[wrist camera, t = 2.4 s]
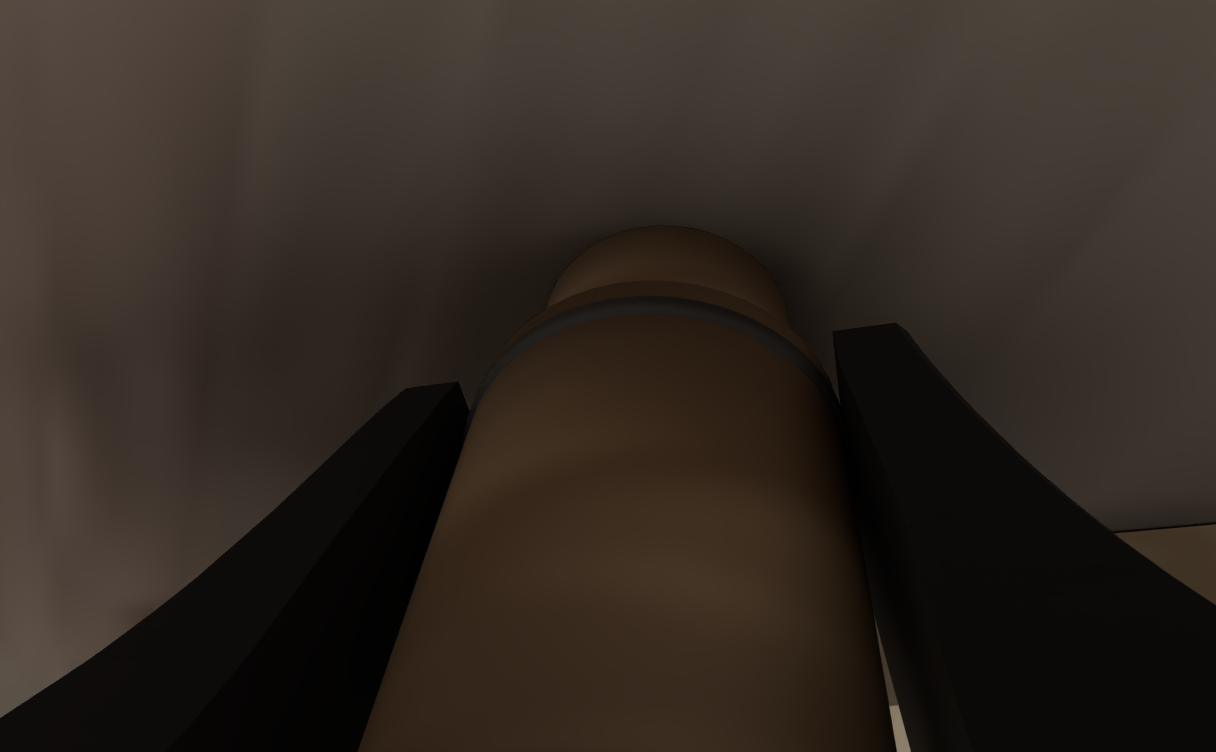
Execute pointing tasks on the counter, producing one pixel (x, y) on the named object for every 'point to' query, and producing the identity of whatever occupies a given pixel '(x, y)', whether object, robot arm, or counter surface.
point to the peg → (645, 532)
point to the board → (1189, 554)
